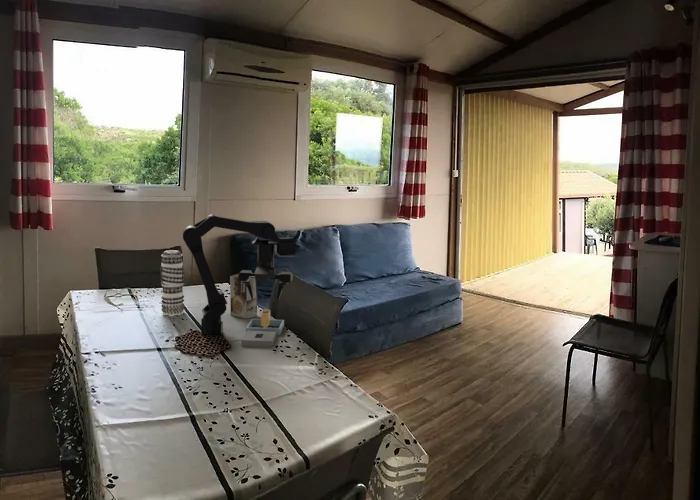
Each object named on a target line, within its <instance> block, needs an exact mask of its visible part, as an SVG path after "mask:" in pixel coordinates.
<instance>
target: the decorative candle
mask: <svg viewBox="0 0 700 500" xmlns="http://www.w3.org/2000/svg"><path fill="white" fill-rule="evenodd" d="M160 256H161V265H160V268H159V271H160V281H161V282H160V284H161V287H162V291H161V293H162V294H161V297H160V298H161V301H160V302H161V303H162V304H161V305H160V306H161V315H162V314H164V315H169V316H168V317H175V316H174V315H178V316H182V315H183V313H184V314H185V304H184V302H185V299H184V298H185V295H184V291H183V286H184V283H185V281H184V279H185V276H183V275H184V274H185V272H184V271H185V268H184V267H183V263H184V262H183V256H184V255H183V254H182V252H181V251H180V250H174V249H170V250H165V251H163V253H162V254H161V255H160ZM181 314H182V315H181ZM164 315H163V316H164Z"/></svg>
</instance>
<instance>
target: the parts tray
mask: <svg viewBox="0 0 700 500" xmlns="http://www.w3.org/2000/svg"><path fill="white" fill-rule="evenodd" d="M254 326H261V318H259V319H258V318H251V319H250V321H249V322H248V324H247V326H246V327H245V333H246V332H247V331H269V332H276V336H281V334H282V331H283V329H284V327H285V319H270V324H269V326H268V328H264V327H262V326H261V327H254ZM273 327H275V328H273ZM276 327H278V328H276Z"/></svg>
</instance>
